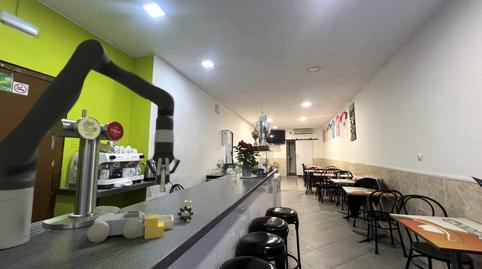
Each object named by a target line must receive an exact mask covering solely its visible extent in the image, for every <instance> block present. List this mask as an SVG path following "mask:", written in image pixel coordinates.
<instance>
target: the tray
mask: <svg viewBox="0 0 482 269" xmlns="http://www.w3.org/2000/svg"><path fill="white" fill-rule="evenodd" d="M174 221H175V220H174V214H164V215H163V214H161V215H158V223H160V222H164V231H166V230H173V229H174V226H175V225H174Z"/></svg>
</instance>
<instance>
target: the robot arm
mask: <svg viewBox="0 0 482 269" xmlns="http://www.w3.org/2000/svg"><path fill="white" fill-rule="evenodd" d="M59 71H60V72H59V73H58V74H56V76H55V78H54V79H53V80H52V81H51V82H50V83H49V84H48V86H47V87H46V88H45V89H44V90H43V92H42V93H41V94H40V95H39V97H38V98H37V99H36V100H35V102H34V103H33V105H31V107H30V109H29V110H28V111H27V113H25V115H24V117H23V118H22V120H21V121H20V122H18V124H17V125H16V126H15V127H14V128H13V129H12V130H11V131H10V132H9V133H8V134H7V135H5V137H4V138H3V139H2V140H0V250H4V249H9V248H13V247H17V246H20V245H24V244H25V243H27V242H29V241H30V235H31V223H32V213H33V203H34V202H33V201H34V191H35V184H36V183H35V181H36V179H37V174H38V165H39V159H40V158H39V157H40V151H39V150H40V149H39V145H40V144H41V143H42V140H43V139H44V138H45V136H46V135H47V134H48V133H49V132H50V131H51V129H53V128H54V127H55V126H56V125H57V124H58V123H60V122H61V121H62V120H64V119H65V117H66V116H67V115H68V114H69V113H70V112H71V110H72V109H73V108H74V106H75V105H76V104H77V102H78V101H79V99H80V97H81V94H82V90H83V87H84V84H85V81H86V79H87V77H88V75H89V73H90V72H91V71H94V72H95V73H98V74H100V75H103V76H105V77H107V78H109V79H111V80H113V81H114V82H117V83H118V84H120V85H122V86H124V87H125V88H126V89H128V90H130V91H131V92H133V93H134V94H136V95H137V96H139V97H141V98H143V99H145V100H147V101H150V103H151V102H152V103H153V104H154V105H155V106H156V107H157V108H156V110H157V112H156V114H157V115H156V116H157V117H156V119H155V133H154V138H153V140H154V144H153V147H154V148H153V155H152V157H151V158H149V159H147V160H146V161H145V162H146V165H147V167H148V168H149V170H150V172H151V174H153V175H155V176H156V179H155V182H156V184H157V185H158V186H160V168H161V165H164V164H166V185H168V184H170V180H171V179H170V178H171V177H170V176H171V175H172V174H174V173H175V172H176V170H177V169H178V166H179V164H180V163H181V160H180V159H178V158H176V157H175V155H174V151H175V150H174V149H175V147H174V146H175V135H174V134H175V133H174V128H175V127H174V126H175V125H174V122H175V121H174V115H175V114H174V113H175V98H174V96H173V95H172V94H171V93H170V92H168V91H167V90H165V89H163V88H161V87H160V86H157V85H155V84H153V83H152V82H151V81H149V80H147V79H146V78H144V77H143V76H141V75H139V74H137V73H135V72H132V71H130V70H127V69H125V68H123V67H120V66H119V65H118V64H117V63H116V62H115V61H113V60H112V59H111V58H110V57H109V54H108V51H107V50H106V48H105V47H104V44H102V42H100V41H99V40H96V39H94V38H93V39H92V38H89V39H85V40H83V41H81V42H80V43H79V44H78V45H77V46H76V47H75V50H74V51H73V52H72V54H71V56H70V58H69V59H68V61H67V62H66V64H65V65H64V67H63V68H62V69H61V70H59ZM153 161H154V162H153ZM172 162H173V163H174V164H173V167H172V169H170V165H171V164H172ZM153 163H155V164H156V166H157V167H156V170H155V169H154V167H153V165H152V164H153Z"/></svg>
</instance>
